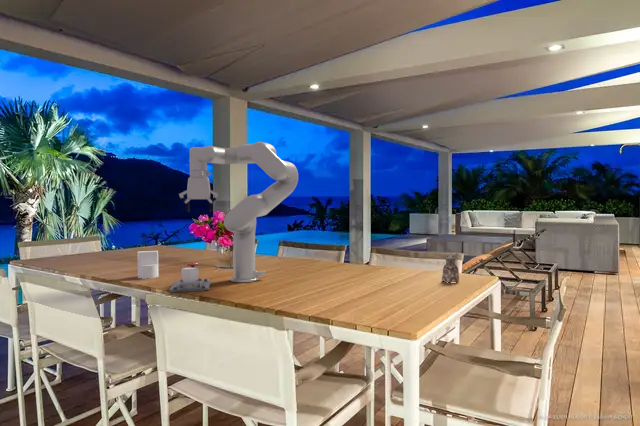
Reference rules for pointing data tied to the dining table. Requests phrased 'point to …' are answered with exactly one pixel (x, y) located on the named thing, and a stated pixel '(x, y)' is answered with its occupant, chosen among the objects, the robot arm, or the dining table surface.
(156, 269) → the base with upright slab
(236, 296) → the dining table surface
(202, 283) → the valve body
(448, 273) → the figurine
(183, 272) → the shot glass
